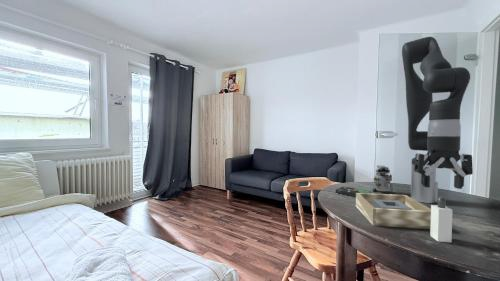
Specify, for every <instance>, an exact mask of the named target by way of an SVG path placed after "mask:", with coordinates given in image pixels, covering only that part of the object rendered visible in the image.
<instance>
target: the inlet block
mask: <svg viewBox="0 0 500 281" xmlns="http://www.w3.org/2000/svg"><path fill="white" fill-rule="evenodd" d="M372 206H373V207H374V208H385V209H404V210H412V209H411V208H410V207H408V206H407V205H405V204H404V203H402V202H400V201H399V200H378V199H372Z"/></svg>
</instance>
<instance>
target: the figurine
mask: <svg viewBox="0 0 500 281" xmlns="http://www.w3.org/2000/svg"><path fill="white" fill-rule="evenodd" d="M390 172H391V170H390V168H389V167H388V166H386V165H382V164H381V165H380V164H379V165H376V168H375V176H373V182H372V192H376V191H377V190H381V191H388V190H389V191H388V194H392V195H393V193H394V189H393V183H391V182H392V181H393V178H392V177H393V174H391V173H390Z"/></svg>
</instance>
